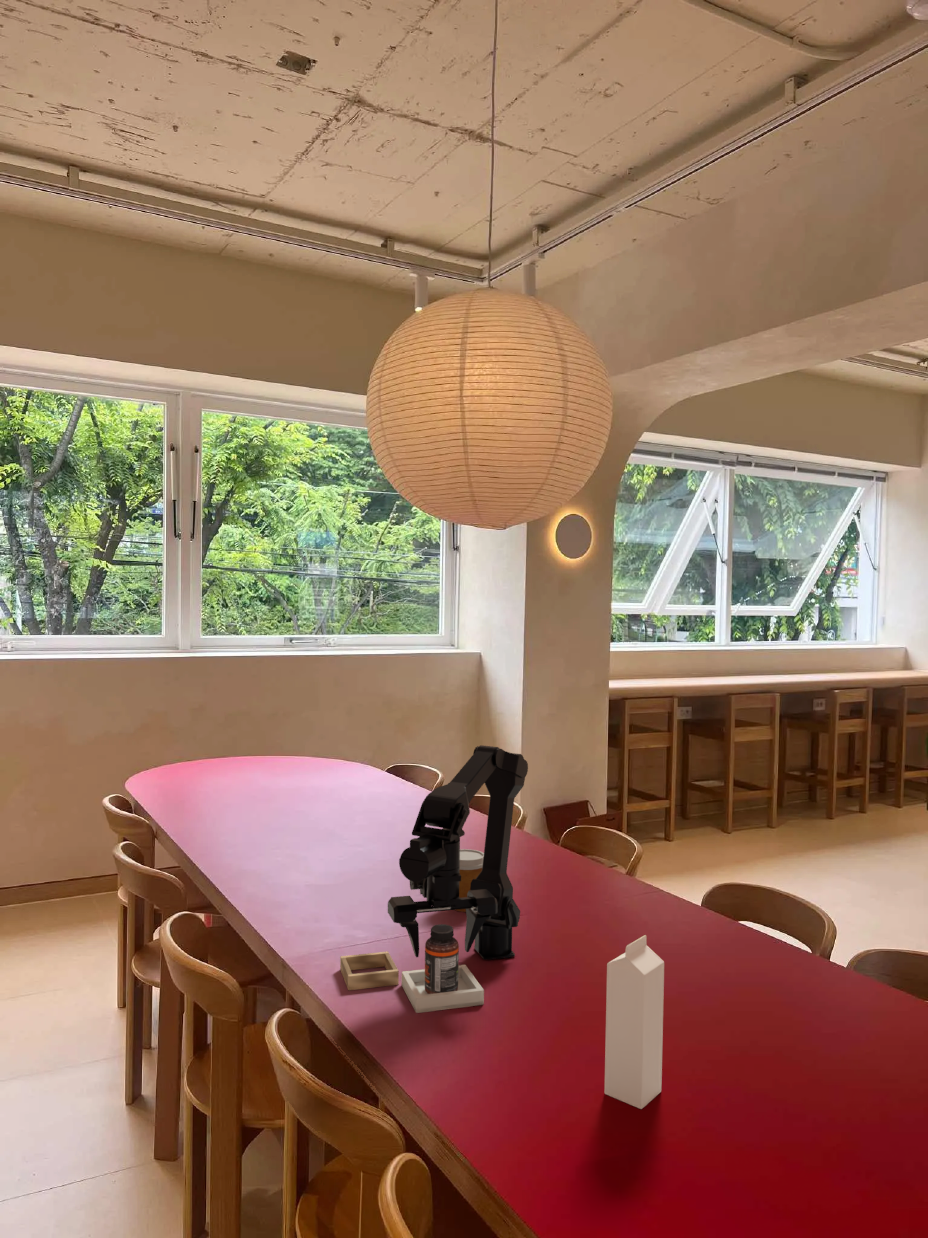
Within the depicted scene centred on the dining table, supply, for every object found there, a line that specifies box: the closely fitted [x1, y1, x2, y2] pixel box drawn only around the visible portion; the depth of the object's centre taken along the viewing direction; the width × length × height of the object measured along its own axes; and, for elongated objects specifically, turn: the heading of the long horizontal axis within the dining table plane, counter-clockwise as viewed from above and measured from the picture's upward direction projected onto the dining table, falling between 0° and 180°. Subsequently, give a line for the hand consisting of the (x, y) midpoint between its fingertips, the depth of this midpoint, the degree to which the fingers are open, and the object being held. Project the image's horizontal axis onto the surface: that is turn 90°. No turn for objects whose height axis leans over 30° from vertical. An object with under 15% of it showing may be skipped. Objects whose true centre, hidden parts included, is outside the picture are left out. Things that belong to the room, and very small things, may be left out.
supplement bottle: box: [424, 923, 460, 994], centre depth 157 cm, size 6×6×11 cm
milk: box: [604, 934, 665, 1110], centre depth 127 cm, size 6×6×22 cm
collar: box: [339, 951, 400, 991], centre depth 164 cm, size 9×9×2 cm
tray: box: [401, 964, 485, 1014], centre depth 157 cm, size 12×11×2 cm
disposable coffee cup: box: [455, 848, 484, 913], centre depth 201 cm, size 10×10×12 cm
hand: (442, 954), depth 157 cm, fingers open, 9 cm apart
